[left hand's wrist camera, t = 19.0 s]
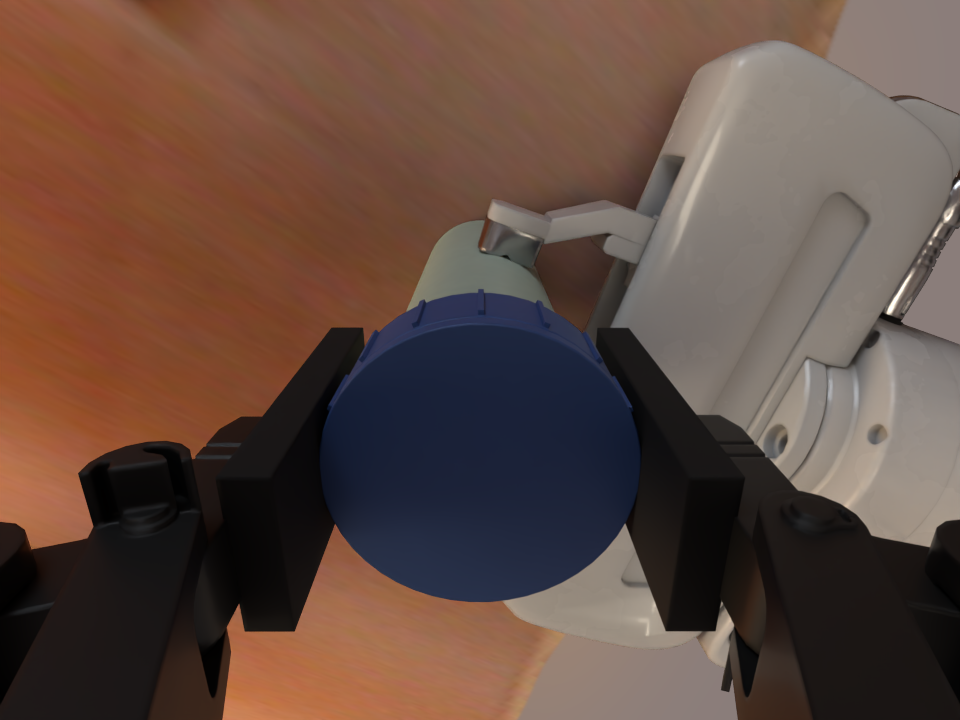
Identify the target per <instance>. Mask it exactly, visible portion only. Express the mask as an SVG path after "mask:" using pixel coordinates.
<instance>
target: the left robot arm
mask: <svg viewBox="0 0 960 720" xmlns="http://www.w3.org/2000/svg"><path fill="white" fill-rule="evenodd" d="M364 348H365V346H364V333H363V328H331V329H330V331H329V332H328V333H327V334H326V336H325V337H324V338H323V340H322V341H321V342H320V343H319V345H318V346H317V347H316V349H315V350H314V351H313V352H312V354H311V355H310V356H309V358H308V359H307V360H306V361H305V363H304V364H303V365H302V366H301V368H300V369H299V370H298V372H297V373H296V374H295V375H294V377H293V378H292V379H291V381H290V382H289V383H288V384H287V386H286V387H285V388H284V390H283V391H282V392H281V393H280V395H279V396H278V397H277V399H276V400H275V401H274V402H273V404H272V405H271V406H270V408H269V409H268V410H267V411H266V413H265V414H264V415H263V417H240V418H238V419H236V420H235V421H233V422H231V423H229V424H228V425H226V426H224V427H223V428H221V429H219V430H218V431H217V433H216V434H215V435H214V436H213V437H212V438H211V439H210V440H209V442H208V443H207V444H206V445H207V446H206V447H203V448H202V449H201V451H200V452H199V453H198V454H197V455H196V458H195V459H192V458H191V453H190V449H188V448H187V447H185V446H184V445H182V444H180V443H174V442H169V441H156V442H144V443H139V444H134V445H129V446H125V447H123V448H120V449H117V450H114V451H111V452H108V453H106V454H104V455H102V456H100V457H99V458H97V459H95V460H93V461H91V462H90V463H88V464H87V465H86V466H85V467H84V468H83V469H82V470H81V471H80V472H79V473H78V475H79V478H80V482H81V485H82V488H83V492H84V495H85V499H86V502H87V506H88V509H89V512H90V516H91V519H92V523H93V526H94V527H93V529H92V531H91V533H90V535H89V537H88V538H87V539H83V540H79V541H74V542H69V543H63V544H58V545H53V546H48V547H42V548H37V549H31V547H30V544H29V541H28V538H27V535H26V532H25V530H24V529H23V528H21V527H20V526H18V525H17V524H15V523H5V522H0V720H222V718H223V710H224V702H225V695H226V687H227V679H228V672H229V664H230V656H231V649H230V642H229V637H228V632H227V626H228V624H229V622H230V620H231V618H232V616H233V614H234V612H235V610H236V608H237V606H238V604H240V609H241V614H242V620H243V625H244V630H245V631H295V629H296V626H297V624H298V621H299V618H300V616H301V613H302V610H303V608H304V605H305V602H306V600H307V597H308V594H309V592H310V589H311V586H312V584H313V581H314V578H315V576H316V573H317V570H318V568H319V565H320V562H321V560H322V557H323V554H324V552H325V549H326V546H327V544H328V541H329V538H330V536H331V533H332V530H333V528H334V525H335V522H334V521H333V519H332V517H331V514H330V512H329V510H328V507H327V505H326V502H325V499H324V495H323V489H322V481H321V472H320V463H319V447H320V442H321V437H322V432H323V428H324V425H325V422H326V420H327V417H328V414H329V410H327V408H328V405H329V403H330V402H331V400H332V398H333V396H334V395H335V393H336V391H337V389H338V388H339V386H340V384H341V382H342V380H343V379H344V377H345V375H346V374H347V375H350V373H351V371H352V369H353V368H354V366H355V364H356V362H357V360H358V358H359V357H360V355H361V353H362V351H363V349H364ZM596 348H597V350H598V352H599V354H600V355H601V357H602V359H603V361H604V363H605V365H606V367H607V369H608V371H609V372H610V374H611V376H612V377H613V376H615V377H616V379H617V381H618V382H619V384H620V386H621V388H622V389H623V391H624V393H625V395H626V397H627V398H628V400H629V402H630V404H631V405H632V408H633V410H634V411H633V412H631V413H632V416H633V419H634V422H635V425H636V428H637V431H638V436H639V441H640V447H641V467H640V475H639V484H638V492H637V496H636V499H635V503H634V506H633V508H632V510H631V512H630V515H629V517H628V519H627V521H626V523H625V524H626V527H627V529H628V532H629V535H630V537H631V540H632V543H633V545H634V548H635V551H636V553H637V556H638V559H639V561H640V564H641V567H642V569H643V572H644V575H645V577H646V580H647V583H648V585H649V588H650V591H651V593H652V596H653V599H654V601H655V604H656V607H657V609H658V612H659V615H660V617H661V620H662V623H663V625H664V628H665V631H716V627H717V622H718V616H719V611H720V606H721V601H722V603H723V604H724V606H725V608H726V610H727V612H728V614H729V616H730V618H731V620H732V622H733V624H734V627H733V632H732V637H731V641H730V646H729V651H728V656H727V661H726V665H725V670H724V675H723V681H722V687H721V690H723V691H727V692H729V690H730V686H731V681H732V679H733V685H734V693H735V701H736V709H737V716H738V720H960V520H950V521H945V522H944V523H942V524H941V525H939V526H938V527H937V528H936V531H935V534H934V536H933V539H932V542H931V545H930V547H927V546H921V545H916V544H911V543H906V542H900V541H895V540H890V539H885V538H880V537H876V536H872V535H871V534H870V532H869V530H868V528H867V526H866V525H865V524H864V523H863V521H862V520H861V519H860V518H859V517H858V516H857V514H855V513H854V512H852V511H851V510H849V509H848V508H846V507H845V506H843V505H842V504H840V503H837V502H835V501H833V500H830V499H828V498H825V497H823V496H820V495H816V494H812V493H808V492H803V491H798V490H797V489H796V488H795V486H794V485H793V484H792V483H791V482H790V481H789V480H788V479H787V478H786V476H785V475H784V474H783V473H782V472H781V471H780V470H779V469H778V468H777V466H776V465H775V464H774V463H773V462H772V461H771V460H770V459H769V458H768V457H765V453H764V452H763V451H762V450H761V449H760V448H759V446H758V445H755V444H754V441H753V440H752V439H751V438H750V436H749V435H748V434H747V433H746V432H745V431H744V430H743V429H742V428H741V427H740V426H738V425H736V424H735V423H733V422H731V421H729V420H728V419H726V418H724V417H722V416H721V415H696V413H695V412H694V411H693V410H692V408H691V407H690V406H689V404H688V403H687V402H686V401H685V399H684V398H683V397H682V396H681V394H680V393H679V392H678V390H677V389H676V388H675V387H674V385H673V384H672V383H671V381H670V380H669V379H668V378H667V376H666V375H665V374H664V372H663V371H662V370H661V369H660V367H659V366H658V365H657V363H656V362H655V361H654V360H653V358H652V357H651V356H650V354H649V353H648V352H647V351H646V349H645V348H644V347H643V345H642V344H641V343H640V342H639V340H638V339H637V338H636V336H635V335H634V334H633V333H632V331H631V330H630V329H629V328H597V338H596Z"/></svg>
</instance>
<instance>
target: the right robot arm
mask: <svg viewBox="0 0 960 720" xmlns="http://www.w3.org/2000/svg"><path fill="white" fill-rule="evenodd" d="M957 173H958V175H957ZM956 175H957V177H956ZM959 227H960V115H959V114H958V113H955V112H953V111H950V110H948V109H946V108H943V107H941V106H938V105H936V104H934V103H931V102H929V101H926V100H924V99H922V98H919V97H914V96H904V95H903V96H894V97H888V96H886V95H885V94H883V93H882V92H880V91H879V90H877V89H876V88H874V87H872V86H871V85H869V84H868V83H866V82H865V81H863V80H861V79H860V78H858V77H856V76H855V75H853V74H851V73H849V72H848V71H846V70H844V69H842V68H840V67H839V66H837V65H835V64H833V63H832V62H830V61H828V60H826V59H824V58H822V57H820V56H818V55H816V54H814V53H812V52H810V51H808V50H806V49H804V48H801V47H799V46H797V45H794V44H791V43H788V42H785V41H779V40H771V41H761V42H756V43H752V44H749V45H746V46H743V47H739V48H737V49H735V50H732V51H730V52H728V53H726V54H724V55H722V56H720V57H718V58H716V59H714V60H712V61H710V62H708V63H706V64H704V65H703V66H702V67H700V68H699V69H698V70H697V72H696V73H695V74H694V76H693V78H692V80H691V82H690V85H689V87H688V89H687V92H686V94H685V96H684V99H683V101H682V103H681V106H680V108H679V110H678V113H677V115H676V117H675V119H674V122H673V124H672V126H671V129H670V131H669V133H668V136H667V138H666V140H665V143H664V145H663V147H662V150H661V152H660V154H659V157H658V159H657V161H656V164H655V166H654V168H653V171H652V173H651V175H650V178H649V180H648V182H647V185H646V187H645V189H644V192H643V194H642V196H641V199H640V201H639V203H638V206H637V208H636V210H632V209H629V208H626V207H624V206H621V205H618V204H615V203H612V202H610V201H607V200H601V201H596V202H591V203H587V204H582V205H577V206H572V207H567V208H562V209H558V210H553V211H548V212H546V213H545V215H541V214H539V213H536V212H533V211H530V210H527V209H524V208H522V207H519V206H516V205H513V204H510V203H508V202H505V201H501V200H497V199H493V198H492V201H491V204H490V207H489V210H488V213H487V216H486V219H485V222H484V225H483V228H482V231H481V235H480V238H479V241H478V248H479V249H480V250H482V251H484V252H486V253H488V254H491V255H495V256H499V257H500V256H504V255H508V257H509V258H510V260H511V261H513V262H515V263H517V264H520V265H523V266H526V267H529V268H533V266H534V263H535V261H536V258H537V256H538V254H539V251H540V249H541V246H542V244H549V243H555V242H560V241H566V240H571V239H577V238H582V237H588V236H591V239H592V242H593V243H594V244H595V245H597V246H598V247H599V248H600V249H601V250H602V251H603V252H604V253H606V254H608V255H611V256H614V257H615V259H614V262H613V264H612V266H611V269H610V271H609V273H608V276H607V278H606V280H605V283H604V285H603V287H602V290H601V292H600V294H599V297H598V299H597V301H596V304H595V306H594V308H593V311H592V313H591V315H590V318H589V320H588V322H587V325H586V327H585V329H584V332H585V331H586V332H587V333H588V334H589V335H590V337H591V339H592V341H593V343H594V344H595V346H596V338H597V328H629V329H630V330H631V331H632V333H633V334H634V335H635V336H636V338H637V339H638V340H639V342H640V343H641V344H642V345H643V347H644V348H645V349H646V351H647V352H648V353H649V354H650V356H651V357H652V358H653V360H654V361H655V362H656V363H657V365H658V366H659V367H660V369H661V370H662V371H663V372H664V374H665V375H666V376H667V378H668V379H669V380H670V381H671V383H672V384H673V385H674V387H675V388H676V389H677V390H678V392H679V393H680V394H681V396H682V397H683V398H684V399H685V401H686V402H687V403H688V404H689V406H690V407H691V408H692V410H693V411H694V412H695V413H696V415H721V416H722V417H724V418H726V419H728V420H729V421H731V422H733V423H735V424H736V425H738V426H740V427H741V428H742V429H743V430H744V431H745V432H746V433H747V434H748V435H749V436H750V438H751V439H752V440H753V441H754V444H755V445H758V446H759V448H760V449H761V450H762V451H763V452H764V453H765V457H768V458H769V459H770V460H771V461H772V462H773V463H774V464H775V465H776V466H777V468H778V469H779V470H780V471H781V472H782V473H783V474H784V475H785V476H786V478H787V479H788V480H789V481H790V482H791V483H792V484H793V485H794V486H795V488H796V489H797V490H798V491H803V492H808V493H812V494H816V495H820V496H823V497H825V498H828V499H830V500H833V501H835V502H837V503H840V504H842V505H843V506H845V507H846V508H848V509H849V510H851V511H852V512H854V513H855V514H857V516H858V517H859V518H860V519H861V520H862V521H863V523H864V524H865V525H866V526H867V528H868V530H869V532H870V534H871V535H872V536H876V537H880V538H885V539H890V540H895V541H900V542H906V543H911V544H916V545H921V546H927V547H930V545H931V542H932V539H933V536H934V534H935V531H936V528H937V527H938V526H939V525H941V524H942V523H944V522H945V521H950V520H960V345H959V344H957V343H954V342H951V341H948V340H946V339H943V338H940V337H937V336H935V335H932V334H929V333H926V332H923V331H921V330H918V329H915V328H912V327H909V326H907V325H904V324H903V323H902V322H901V320H902V319H903V317H904V316H905V314H906V313H907V311H908V310H909V308H910V306H911V305H912V303H913V302H914V300H915V298H916V297H917V295H918V294H919V292H920V291H921V289H922V287H923V286H924V284H925V282H926V281H927V279H928V277H929V276H930V274H931V272H932V270H933V269H932V267H934V266H935V263H936V258H938V257H939V255H940V253H941V252H940V250H942V249H943V248H944V246H945V244H946V243H945V242H946V241H948V240H949V238H950V236H951V235H952V233H953V232H954V230H955V229H958V228H959ZM584 332H583V333H584ZM503 602H504V604H505V605H506V606H507V607H508V608H509V609H510V610H511V612H512V613H513V614H514V615H515V616H517V617H518V618H520V619H521V620H523V621H526V622H528V623H531V624H534V625H536V626H540V627H543V628H547V629H550V630H554V631H557V632H561V633H565V634H569V635H573V636H577V637H581V638H585V639H590V640H594V641H599V642H603V643H608V644H613V645H619V646H624V647H630V648H636V649H648V650H658V649H668V648H672V647H677V646H680V645H683V644H685V643H687V642H689V641H691V640H692V639H694V638H695V637H696V638H697V639H698V641H699V643H700V645H701V646H702V648H703V650H704V651H705V653H706V655H707V657H708V658H709V660H710V661H711V662H713V663H714V664H716V665H718V666H721V667H723V668H725V665H726V661H727V656H728V651H729V646H730V641H731V637H732V632H733V627H734V624H733V622H732V620H731V618H730V616H729V614H728V612H727V610H726V608H725V606H724V604H723V603H722V601H721V606H720V611H719V616H718V622H717V627H716V631H665V628H664V625H663V623H662V620H661V617H660V615H659V612H658V609H657V607H656V604H655V601H654V599H653V596H652V593H651V591H650V588H649V585H648V583H647V580H646V577H645V575H644V572H643V569H642V567H641V564H640V561H639V559H638V556H637V553H636V551H635V548H634V545H633V543H632V540H631V537H630V535H629V532H628V529H627V527H626V524H624V526H623V528H622V529H621V531H620V533H619V534H618V536H617V537H616V538H615V540H614V541H613V542H612V543H611V544H610V546H609V547H608V548H607V549H606V550H605V551H604V552H603V553H602V554H601V555H600V556H599V557H598V558H597V559H596V560H595V561H594V562H593V563H592V564H590V565H589V566H588V567H586V568H585V569H583V570H582V571H581V572H579V573H578V574H576V575H575V576H573V577H571V578H570V579H568V580H566V581H564V582H563V583H561V584H558V585H556V586H554V587H552V588H549V589H547V590H545V591H542V592H538V593H535V594H532V595H529V596H526V597H521V598H516V599H511V600H504V601H503Z"/></svg>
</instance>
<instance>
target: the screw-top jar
mask: <svg viewBox="0 0 960 720" xmlns="http://www.w3.org/2000/svg"><path fill="white" fill-rule="evenodd" d="M484 222H485V221H484V220H476V221H469V222H465V223H462V224H460V225H457V226H455V227H454V228H452V229H450V230H449V231H448V232H446V233H445V234H444V235H443V236H442V237H441V238H440V239H439V240H438V242H437V243H436V245H435V246H434V248H433V250H432V252H431V254H430V257H429V259H428V261H427V264H426V266H425V268H424V271H423V273H422V275H421V278H420V280H419V283H418V285H417V287H416V290H415V292H414V294H413V297H412V299H411V301H410V304H409V306H408V308H407V311H409V310H411V309H412V308H414V307H416V306H418V304H419V301H421V300H423V299H425V301H426V302H429V301H431V300H434V299H438V298H442V297H446V296H450V295H456V294H464V293H478V289H484V293H496V294H504V295H511V296H514V297H518V298H522V299H526V300H529V301H532V302H534V303H536V301H537V300H539V301H542V303H543V305H544V307H546V308H548V309H550V310H551V311H553V312H554V310H553V308H552V305H551V303H550V301H549V298H548V296H547V294H546V291H545V289H544V287H543V284H542V282H541V279H540V277H539V275H538V272H537V270H536V268H535V265H534V266H533V268H529V267H526V266H523V265H520V264H517V263H515V262H513V261H511V260H510V258H509V257H508V255H504V256H500V257H499V256H495V255H491V254H488V253H486V252H484V251H482V250H480V249H479V248H478V241H479V238H480V235H481V231H482V228H483V225H484ZM407 311H406V312H407Z"/></svg>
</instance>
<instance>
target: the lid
mask: <svg viewBox="0 0 960 720" xmlns="http://www.w3.org/2000/svg"><path fill="white" fill-rule="evenodd" d="M327 410H329V414H328V417H327V420H326V422H325V425H324V428H323V432H322V437H321V442H320V447H319V463H320V472H321V481H322V489H323V495H324V499H325V502H326V505H327V507H328V510H329V512H330V514H331V517H332V519H333V521H334V522H335V524H336V526H337V527H338V529H339V531H340V532H341V534H342V535H343V537H344V538H345V539H346V540H347V542H348V543H349V544H350V545H351V547H352V548H353V549H354V550H355V551H356V552H357V553H358V554H359V555H360V556H361V557H362V558H363V559H364V560H365V561H366V562H368V563H369V564H370V565H371V566H373V567H374V568H375V569H377V570H378V571H379V572H381V573H382V574H384V575H386V576H387V577H389V578H391V579H392V580H394V581H396V582H398V583H400V584H402V585H404V586H406V587H409V588H411V589H413V590H416V591H419V592H422V593H425V594H428V595H431V596H435V597H440V598H444V599H449V600H457V601H466V602H494V601H504V600H511V599H516V598H521V597H526V596H529V595H532V594H535V593H538V592H542V591H545V590H547V589H549V588H552V587H554V586H556V585H558V584H561V583H563V582H564V581H566V580H568V579H570V578H571V577H573V576H575V575H576V574H578V573H579V572H581V571H582V570H583V569H585V568H586V567H588V566H589V565H590V564H592V563H593V562H594V561H595V560H596V559H597V558H598V557H599V556H600V555H601V554H602V553H603V552H604V551H605V550H606V549H607V548H608V547H609V546H610V544H611V543H612V542H613V541H614V540H615V538H616V537H617V536H618V534H619V533H620V531H621V529H622V528H623V526H624V524H625V523H626V521H627V519H628V517H629V515H630V512H631V510H632V508H633V506H634V503H635V499H636V496H637V492H638V484H639V475H640V467H641V447H640V441H639V436H638V431H637V428H636V425H635V422H634V419H633V416H632V413H631V412H633V411H634V410H633V408H632V405H631V404H630V402H629V400H628V398H627V397H626V395H625V393H624V391H623V389H622V388H621V386H620V384H619V382H618V381H617V379H616V377H615V376H613V377H612V376H611V374H610V372H609V371H608V369H607V367H606V365H605V363H604V361H603V359H602V357H601V355H600V354H599V352H598V350H597V348H596V346H595V344H594V343H593V341H592V339H591V337H590V335H589V334H588V333H587V332H586V331H585V332H584V333H583V334H582V333H581V332H580V331H579V330H578V329H577V328H576V327H575V326H574V325H572V324H571V323H570V322H568V321H567V320H566V319H565V318H563V317H562V316H560V315H558V314H557V313H555V312H553V311H551V310H550V309H548V308H546V307H544V305H543V303H542V301H539V300H537V301H536V303H534V302H532V301H529V300H526V299H522V298H518V297H514V296H511V295H504V294H496V293H484V289H478V293H464V294H456V295H450V296H446V297H442V298H438V299H434V300H431V301H429V302H426V301H425V299H423V300H421V301H419V304H418V306H416V307H414V308H412V309H411V310H409V311H407V312H405V313H404V314H402V315H400V316H398V317H397V318H396V319H394V320H393V321H392V322H390V323H389V324H388V325H387V326H385V327H384V328H383V329H382V330H381V331H380V332H378V331H377V330H375V331H374V332H373V333H372V335H371V337H370V338H369V340H368V342H367V344H366V346H365V348H364V349H363V351H362V353H361V355H360V357H359V358H358V360H357V362H356V364H355V366H354V368H353V369H352V371H351V373H350V375H347V374H346V375H345V377H344V379H343V380H342V382H341V384H340V386H339V388H338V389H337V391H336V393H335V395H334V396H333V398H332V400H331V402H330V403H329V405H328V408H327Z"/></svg>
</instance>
